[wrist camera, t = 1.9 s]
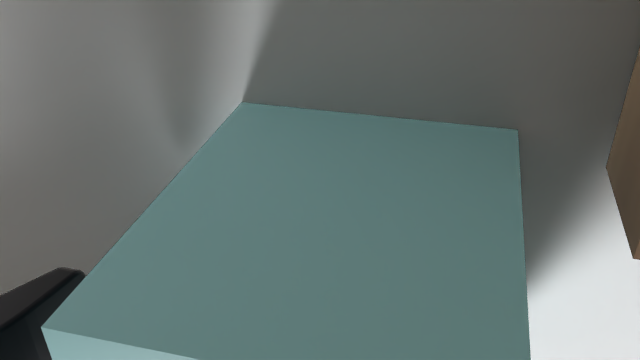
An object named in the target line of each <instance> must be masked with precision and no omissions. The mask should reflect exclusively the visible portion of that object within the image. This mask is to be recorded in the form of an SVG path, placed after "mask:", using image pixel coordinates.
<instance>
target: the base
mask: <svg viewBox="0 0 640 360" xmlns="http://www.w3.org/2000/svg"><path fill="white" fill-rule="evenodd" d="M606 169H607V172H608V176H609V179H610V182H611V186H612V189H613V193H614V196H615V199H616V203H617V206H618V209H619V213H620V216H621V219H622V223H623V226H624V230H625V233H626V236H627V240H628V243H629V246H630V250H631V253H632V256H633V259H639V260H640V47H639V51H638V54H637V58H636V61H635V65H634V69H633V72H632V76H631V79H630V83H629V86H628V90H627V94H626V97H625V101H624V104H623V108H622V111H621V115H620V119H619V122H618V126H617V129H616V133H615V137H614V140H613V144H612V147H611V151H610V154H609V158H608V162H607V165H606Z"/></svg>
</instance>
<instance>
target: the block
mask: <svg viewBox="0 0 640 360" xmlns="http://www.w3.org/2000/svg"><path fill="white" fill-rule="evenodd" d="M41 329H42V332H43V335H44V338H45V341H46V343H47V346H48V349H49V352H50V355H51V358H52V360H531V358H530V340H529V322H528V303H527V285H526V267H525V249H524V231H523V212H522V194H521V176H520V158H519V139H518V130H515V129H505V128H495V127H485V126H475V125H465V124H455V123H445V122H435V121H425V120H415V119H405V118H395V117H385V116H375V115H365V114H355V113H345V112H335V111H325V110H315V109H305V108H295V107H285V106H275V105H265V104H255V103H245V102H242V103H241V104H240V105H239V106H238V107H237V108H236V109H235V110H234V112H233V113H232V114H231V115H230V116H229V117H228V118H227V119H226V121H225V122H224V123H223V124H222V125H221V126H220V127H219V128H218V129H217V131H216V132H215V133H214V134H213V135H212V136H211V137H210V138H209V140H208V141H207V142H206V143H205V144H204V145H203V146H202V147H201V149H200V150H199V151H198V152H197V153H196V154H195V155H194V156H193V157H192V159H191V160H190V161H189V162H188V163H187V164H186V165H185V166H184V168H183V169H182V170H181V171H180V172H179V173H178V174H177V175H176V176H175V178H174V179H173V180H172V181H171V182H170V183H169V184H168V185H167V187H166V188H165V189H164V190H163V191H162V192H161V193H160V194H159V196H158V197H157V198H156V199H155V200H154V201H153V202H152V203H151V204H150V206H149V207H148V208H147V209H146V210H145V211H144V212H143V213H142V215H141V216H140V217H139V218H138V219H137V220H136V221H135V222H134V223H133V225H132V226H131V227H130V228H129V229H128V230H127V231H126V232H125V234H124V235H123V236H122V237H121V238H120V239H119V240H118V241H117V243H116V244H115V245H114V246H113V247H112V248H111V249H110V250H109V251H108V253H107V254H106V255H105V256H104V257H103V258H102V259H101V260H100V262H99V263H98V264H97V265H96V266H95V267H94V268H93V269H92V270H91V272H90V273H89V274H88V275H87V276H86V277H85V278H84V279H83V281H82V282H81V283H80V284H79V285H78V286H77V287H76V288H75V290H74V291H73V292H72V293H71V294H70V295H69V296H68V297H67V298H66V300H65V301H64V302H63V303H62V304H61V305H60V306H59V307H58V309H57V310H56V311H55V312H54V313H53V314H52V315H51V316H50V317H49V319H48V320H47V321H46V322H45V323H44V324H43V325H42V326H41Z"/></svg>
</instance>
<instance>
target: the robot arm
mask: <svg viewBox="0 0 640 360" xmlns="http://www.w3.org/2000/svg"><path fill="white" fill-rule="evenodd" d="M85 277H86V275H85V274H84V273H83V271H81V270H77V269H71V268H65V267H61V268H57V269H55V270H53V271H51V272H49V273H47V274H44V275H42V276H40V277H38V278H36V279H34V280H32V281H30V282H28V283H26V284H24V285H22V286H20V287H17V288H15V289H13V290H11V291H9V292H7V293H5V294H3V295H1V296H0V360H52V358H51V355H50V352H49V349H48V346H47V343H46V341H45V338H44V335H43V332H42V329H41V326H42V325H43V324H44V323H45V322H46V321H47V320H48V319H49V317H50V316H51V315H52V314H53V313H54V312H55V311H56V310H57V309H58V307H59V306H60V305H61V304H62V303H63V302H64V301H65V300H66V298H67V297H68V296H69V295H70V294H71V293H72V292H73V291H74V290H75V288H76V287H77V286H78V285H79V284H80V283H81V282H82V281H83V279H84V278H85Z"/></svg>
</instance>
